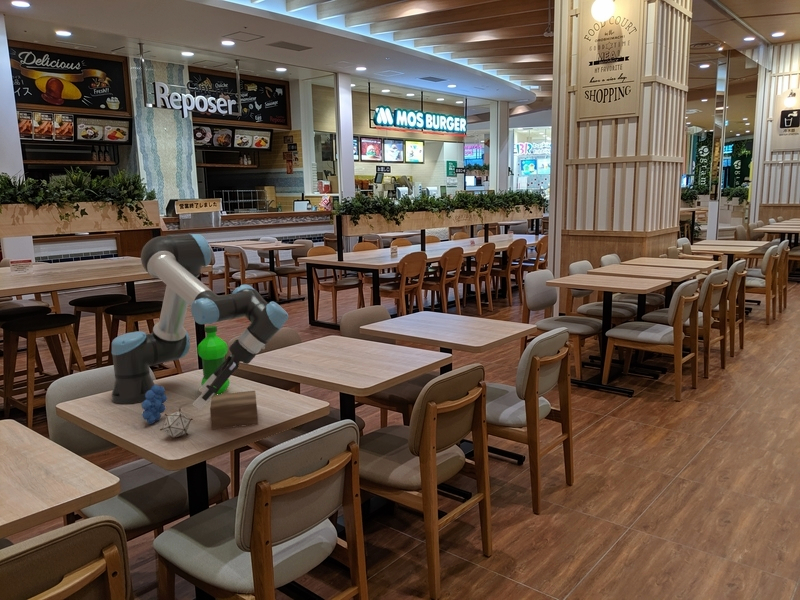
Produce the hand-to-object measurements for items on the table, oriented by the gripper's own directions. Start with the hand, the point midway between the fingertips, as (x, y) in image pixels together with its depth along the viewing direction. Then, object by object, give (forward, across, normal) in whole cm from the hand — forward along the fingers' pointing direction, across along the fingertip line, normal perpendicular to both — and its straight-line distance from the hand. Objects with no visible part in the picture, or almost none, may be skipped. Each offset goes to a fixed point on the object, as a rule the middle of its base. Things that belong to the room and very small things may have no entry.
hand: (199, 399), depth 183 cm
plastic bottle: (+8, +42, -8) cm, 43 cm away
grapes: (+20, +17, +4) cm, 27 cm away
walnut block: (+2, +12, -14) cm, 19 cm away
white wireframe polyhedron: (+13, +1, -3) cm, 14 cm away
